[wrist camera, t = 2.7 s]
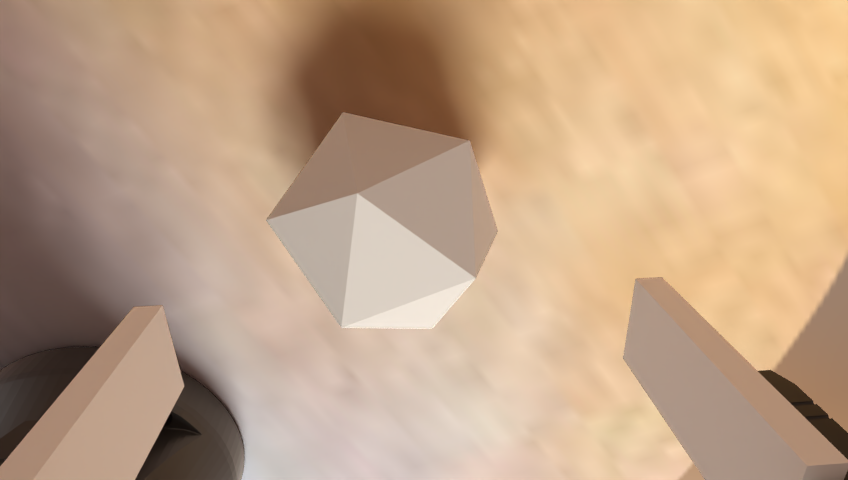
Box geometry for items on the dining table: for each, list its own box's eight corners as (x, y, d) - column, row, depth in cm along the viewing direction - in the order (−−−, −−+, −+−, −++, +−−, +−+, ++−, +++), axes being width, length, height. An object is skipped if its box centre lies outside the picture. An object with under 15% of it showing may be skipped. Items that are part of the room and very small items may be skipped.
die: (311, 77, 24) (184, 246, 18) (500, 58, 20) (413, 267, 14) (378, 206, 30) (298, 363, 24) (534, 211, 26) (482, 400, 20)
